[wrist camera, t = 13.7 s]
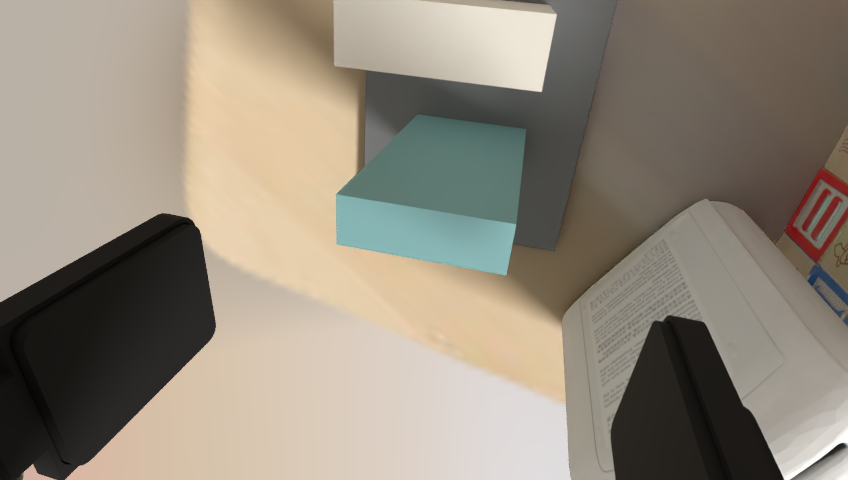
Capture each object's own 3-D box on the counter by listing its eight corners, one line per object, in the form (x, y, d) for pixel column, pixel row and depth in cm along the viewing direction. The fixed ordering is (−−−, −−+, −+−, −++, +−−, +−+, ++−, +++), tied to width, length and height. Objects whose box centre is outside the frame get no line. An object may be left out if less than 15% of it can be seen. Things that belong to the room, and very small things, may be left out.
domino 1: (549, 4, 19) (556, 14, 10) (541, 48, 19) (541, 91, 11) (426, -8, 19) (333, -8, 11) (423, 35, 20) (334, 65, 11)
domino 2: (526, 129, 21) (516, 223, 12) (520, 163, 22) (506, 275, 13) (417, 114, 22) (336, 193, 13) (415, 147, 22) (336, 244, 14)
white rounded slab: (607, 359, 26) (652, 608, 16) (548, 316, 26) (553, 543, 15) (775, 235, 21) (1012, 478, 11) (705, 179, 21) (879, 374, 10)
